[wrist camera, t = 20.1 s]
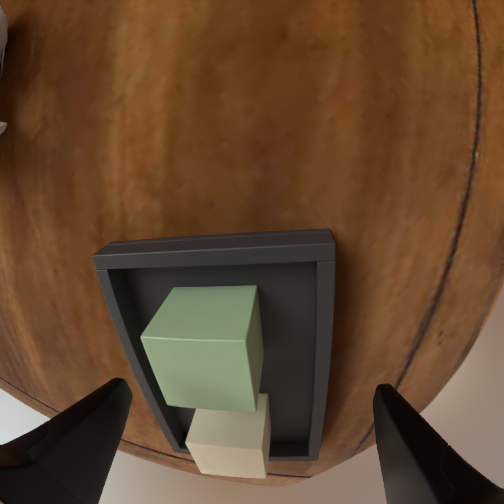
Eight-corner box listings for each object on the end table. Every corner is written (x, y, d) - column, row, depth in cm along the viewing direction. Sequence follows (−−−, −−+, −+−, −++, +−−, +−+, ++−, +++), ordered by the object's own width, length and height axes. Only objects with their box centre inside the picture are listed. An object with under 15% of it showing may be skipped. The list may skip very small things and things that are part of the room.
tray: (317, 440, 20) (318, 460, 18) (180, 434, 22) (174, 452, 20) (329, 228, 14) (336, 243, 12) (110, 241, 15) (91, 255, 13)
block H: (271, 429, 19) (266, 478, 15) (213, 426, 20) (201, 473, 16) (268, 393, 18) (262, 449, 14) (201, 390, 18) (184, 442, 14)
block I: (264, 352, 16) (256, 412, 12) (190, 351, 17) (167, 405, 13) (257, 284, 15) (246, 340, 11) (173, 286, 15) (139, 336, 11)
